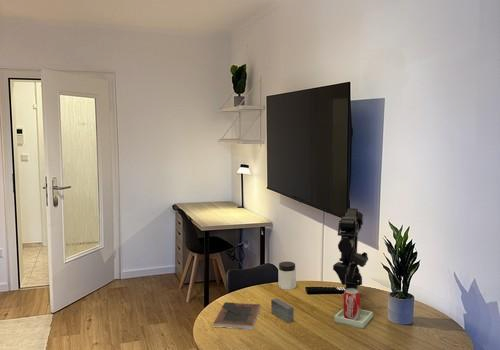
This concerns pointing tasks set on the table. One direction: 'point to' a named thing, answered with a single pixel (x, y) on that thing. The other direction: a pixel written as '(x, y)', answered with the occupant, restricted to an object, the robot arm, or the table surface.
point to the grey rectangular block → (282, 310)
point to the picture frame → (237, 315)
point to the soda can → (351, 304)
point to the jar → (287, 275)
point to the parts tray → (359, 323)
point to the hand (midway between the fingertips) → (347, 281)
